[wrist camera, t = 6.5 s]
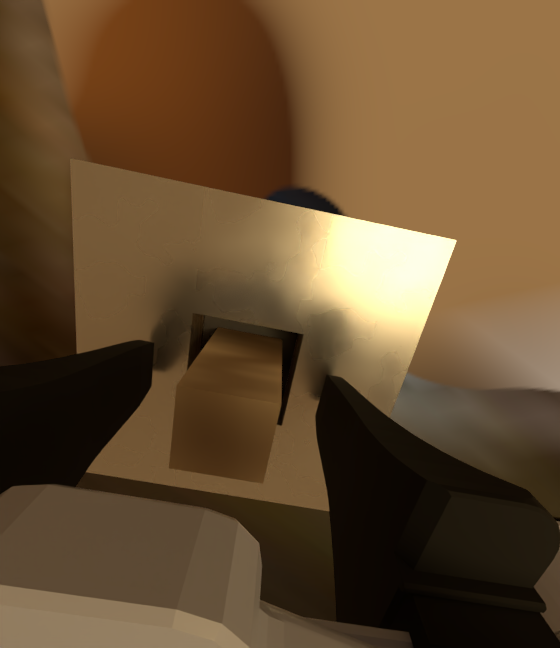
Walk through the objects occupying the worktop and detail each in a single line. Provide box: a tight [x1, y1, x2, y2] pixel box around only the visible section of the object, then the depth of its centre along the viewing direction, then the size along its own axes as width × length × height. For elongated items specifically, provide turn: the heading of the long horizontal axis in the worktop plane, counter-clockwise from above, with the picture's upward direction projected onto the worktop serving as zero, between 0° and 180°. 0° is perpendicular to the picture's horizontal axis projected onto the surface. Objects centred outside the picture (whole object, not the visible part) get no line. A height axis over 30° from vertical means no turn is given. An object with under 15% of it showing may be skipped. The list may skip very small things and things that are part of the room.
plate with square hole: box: [70, 158, 456, 511], centre depth 13 cm, size 14×14×2 cm
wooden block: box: [169, 327, 282, 484], centre depth 11 cm, size 3×3×6 cm
